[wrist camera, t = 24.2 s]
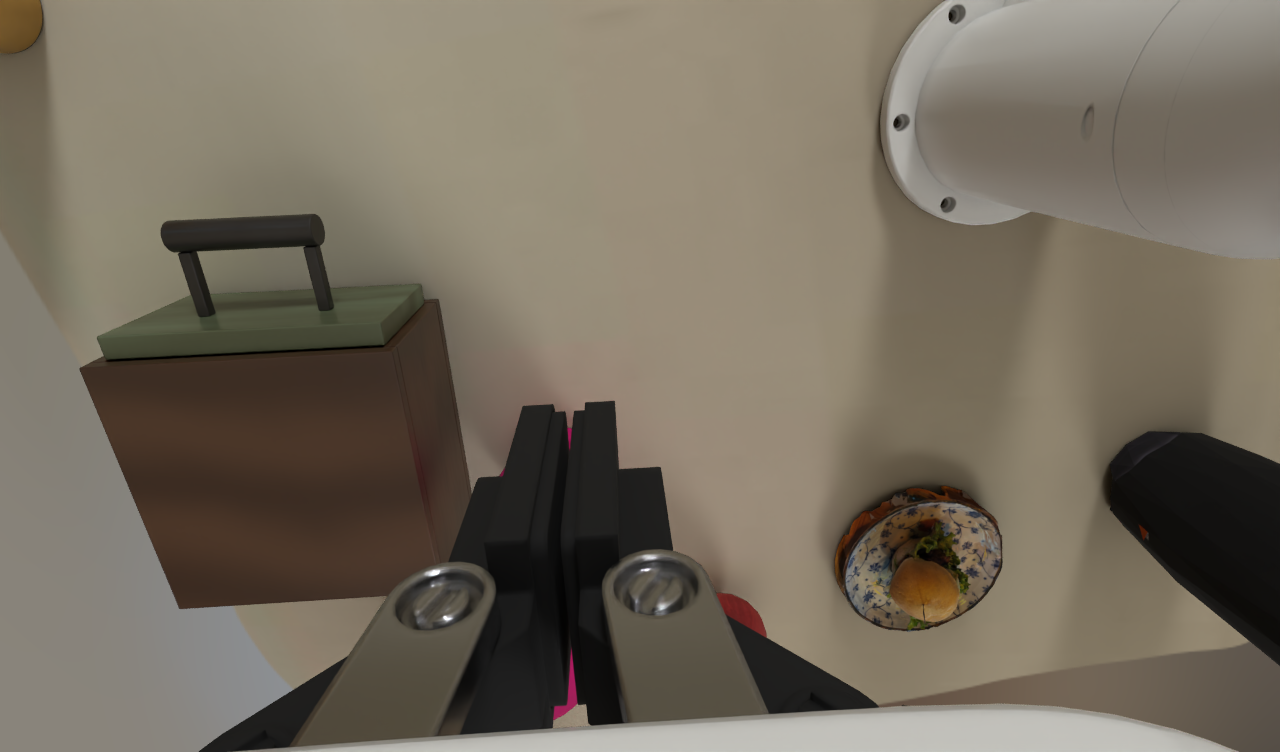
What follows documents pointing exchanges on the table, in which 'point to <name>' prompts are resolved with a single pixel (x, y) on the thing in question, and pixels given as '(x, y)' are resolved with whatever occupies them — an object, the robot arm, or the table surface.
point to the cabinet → (291, 465)
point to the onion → (741, 612)
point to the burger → (919, 559)
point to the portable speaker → (1208, 524)
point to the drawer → (261, 300)
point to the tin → (19, 24)
